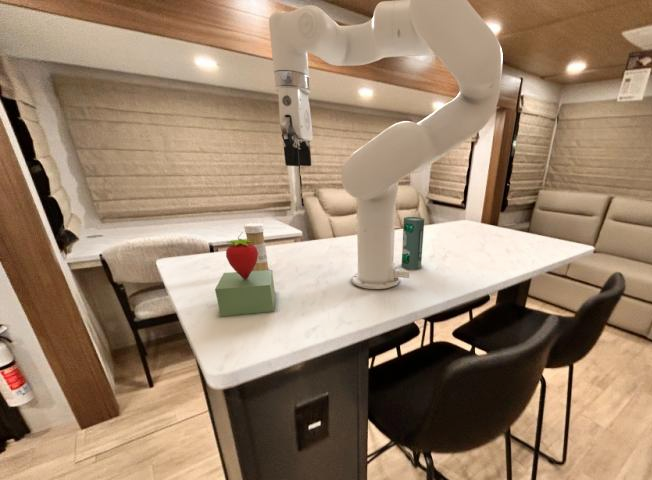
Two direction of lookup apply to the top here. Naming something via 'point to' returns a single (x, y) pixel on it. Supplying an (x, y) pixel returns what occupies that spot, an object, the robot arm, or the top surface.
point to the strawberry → (242, 256)
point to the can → (412, 242)
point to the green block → (246, 293)
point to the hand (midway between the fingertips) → (299, 165)
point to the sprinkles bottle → (257, 244)
